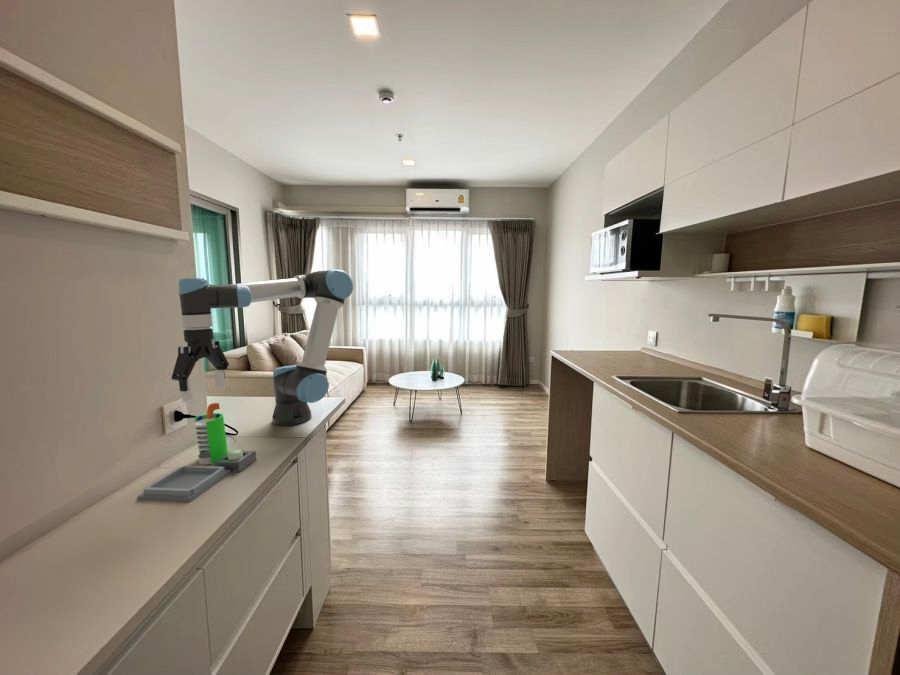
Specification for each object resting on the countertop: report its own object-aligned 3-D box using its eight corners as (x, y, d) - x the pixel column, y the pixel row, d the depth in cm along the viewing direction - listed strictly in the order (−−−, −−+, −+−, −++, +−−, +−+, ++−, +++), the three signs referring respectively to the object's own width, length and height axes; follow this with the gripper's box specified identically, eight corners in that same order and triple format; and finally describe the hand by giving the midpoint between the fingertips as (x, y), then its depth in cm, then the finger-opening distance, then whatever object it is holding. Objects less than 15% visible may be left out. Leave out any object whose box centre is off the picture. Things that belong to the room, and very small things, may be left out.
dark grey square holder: (233, 459, 117) (232, 450, 116) (256, 459, 116) (255, 450, 116) (215, 471, 109) (213, 462, 109) (239, 472, 108) (238, 462, 108)
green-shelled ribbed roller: (191, 462, 115) (184, 408, 113) (215, 451, 123) (209, 400, 121) (211, 466, 112) (205, 410, 110) (234, 455, 120) (229, 402, 117)
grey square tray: (184, 471, 109) (183, 463, 109) (230, 472, 108) (229, 465, 108) (137, 499, 95) (136, 491, 94) (190, 501, 93) (188, 493, 93)
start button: (234, 461, 115) (233, 449, 114) (246, 461, 114) (245, 449, 114) (225, 467, 111) (224, 454, 110) (237, 467, 110) (236, 455, 110)
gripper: (216, 324, 125) (222, 384, 127) (150, 332, 100) (159, 406, 103) (236, 324, 124) (242, 384, 127) (174, 332, 99) (183, 407, 102)
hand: (205, 394), depth 115 cm, fingers open, 13 cm apart
